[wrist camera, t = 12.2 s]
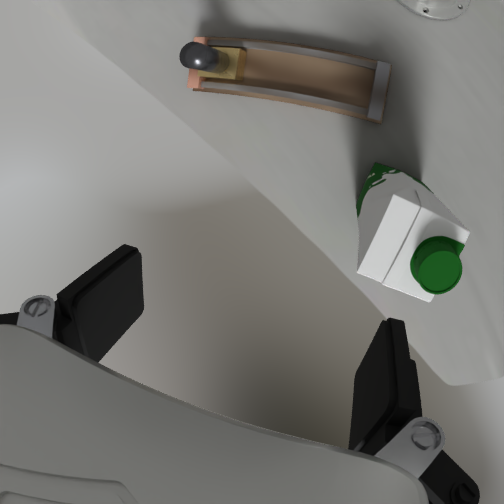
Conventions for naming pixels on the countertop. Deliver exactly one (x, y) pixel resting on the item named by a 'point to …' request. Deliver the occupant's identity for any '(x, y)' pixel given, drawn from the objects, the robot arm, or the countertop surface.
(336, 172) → the countertop surface
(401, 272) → the milk carton
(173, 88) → the countertop surface
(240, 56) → the slider
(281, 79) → the rail base
